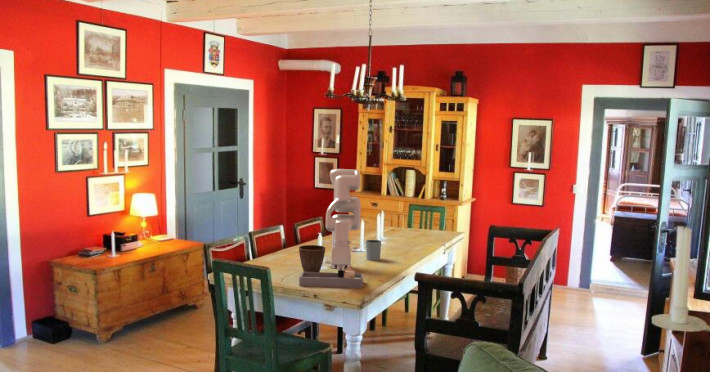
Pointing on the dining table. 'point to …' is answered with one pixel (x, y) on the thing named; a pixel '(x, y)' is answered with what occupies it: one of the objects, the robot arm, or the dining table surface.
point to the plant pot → (311, 257)
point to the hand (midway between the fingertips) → (340, 277)
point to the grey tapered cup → (373, 250)
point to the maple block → (349, 274)
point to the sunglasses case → (351, 270)
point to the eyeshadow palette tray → (329, 280)
